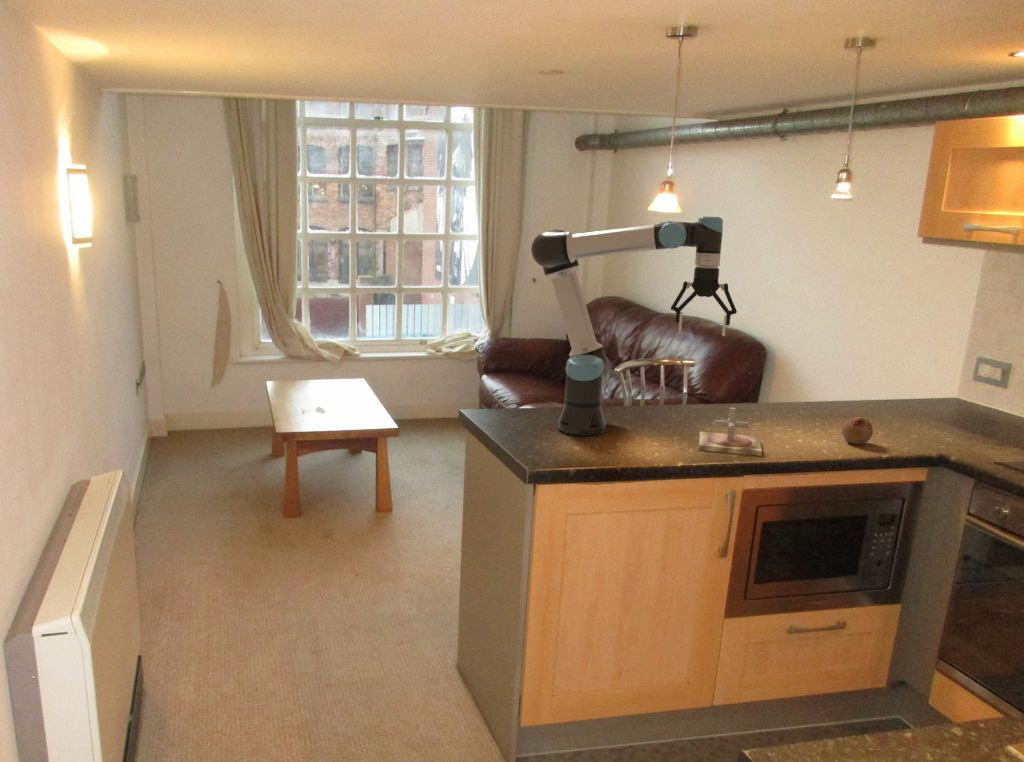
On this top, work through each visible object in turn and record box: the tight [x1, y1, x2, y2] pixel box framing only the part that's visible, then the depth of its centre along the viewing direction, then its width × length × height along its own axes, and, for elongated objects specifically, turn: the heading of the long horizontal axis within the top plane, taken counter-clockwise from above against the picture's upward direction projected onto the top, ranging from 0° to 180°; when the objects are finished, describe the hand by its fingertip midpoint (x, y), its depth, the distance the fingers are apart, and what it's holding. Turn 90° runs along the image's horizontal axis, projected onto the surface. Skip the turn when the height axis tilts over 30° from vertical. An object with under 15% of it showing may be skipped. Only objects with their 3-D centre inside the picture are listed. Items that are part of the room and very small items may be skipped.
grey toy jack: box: [713, 407, 750, 441], centre depth 248 cm, size 10×10×10 cm
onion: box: [841, 416, 874, 445], centre depth 256 cm, size 9×9×10 cm
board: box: [698, 431, 763, 457], centre depth 249 cm, size 18×16×2 cm
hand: (701, 334), depth 258 cm, fingers open, 13 cm apart
